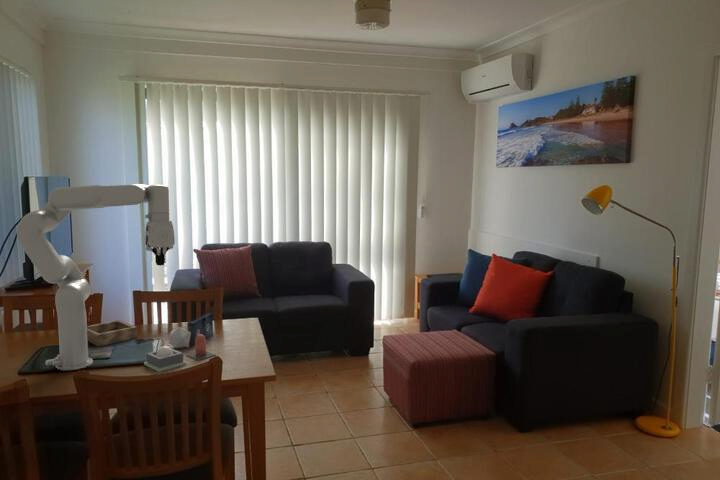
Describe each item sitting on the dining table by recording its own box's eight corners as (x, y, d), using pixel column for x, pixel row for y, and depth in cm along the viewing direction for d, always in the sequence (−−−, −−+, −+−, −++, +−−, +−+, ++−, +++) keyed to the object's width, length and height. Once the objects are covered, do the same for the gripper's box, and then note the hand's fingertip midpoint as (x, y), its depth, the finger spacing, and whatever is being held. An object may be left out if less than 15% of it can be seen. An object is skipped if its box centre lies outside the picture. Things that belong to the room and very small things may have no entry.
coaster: (198, 360, 214) (198, 359, 214) (186, 356, 219) (186, 355, 219) (215, 355, 220) (215, 354, 220) (204, 351, 225) (204, 350, 225)
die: (187, 355, 228) (196, 336, 235) (182, 341, 222) (191, 322, 229) (168, 353, 229) (177, 334, 236) (162, 339, 223) (172, 320, 230)
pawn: (198, 357, 216) (197, 336, 215) (194, 354, 219) (193, 334, 218) (208, 355, 219) (207, 334, 218) (203, 352, 222) (202, 332, 221)
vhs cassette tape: (208, 334, 250) (207, 312, 249) (214, 334, 249) (214, 313, 248) (187, 346, 232) (186, 323, 231) (193, 346, 231) (193, 323, 230)
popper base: (159, 371, 201) (158, 360, 201) (144, 364, 208) (143, 353, 208) (186, 364, 209) (185, 353, 209) (170, 357, 217) (170, 347, 216)
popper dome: (161, 364, 204) (161, 349, 204) (153, 360, 208) (153, 346, 208) (176, 360, 209) (176, 346, 208) (168, 357, 213) (167, 342, 212)
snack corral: (98, 346, 230) (97, 334, 229) (81, 338, 241) (80, 327, 240) (137, 338, 242) (137, 327, 242) (119, 330, 254) (119, 320, 253)
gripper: (145, 218, 201) (146, 268, 204) (182, 216, 213) (183, 264, 215) (135, 217, 206) (136, 266, 208) (171, 215, 218) (172, 261, 220)
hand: (160, 264), depth 212 cm, fingers closed
